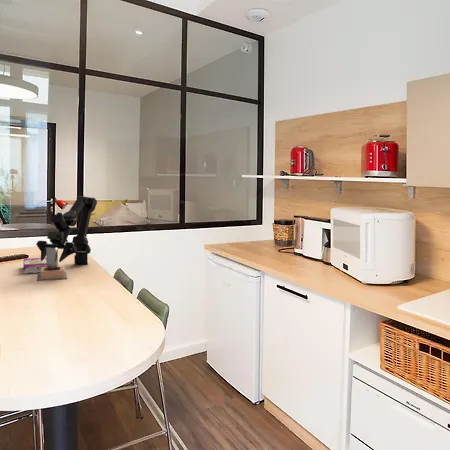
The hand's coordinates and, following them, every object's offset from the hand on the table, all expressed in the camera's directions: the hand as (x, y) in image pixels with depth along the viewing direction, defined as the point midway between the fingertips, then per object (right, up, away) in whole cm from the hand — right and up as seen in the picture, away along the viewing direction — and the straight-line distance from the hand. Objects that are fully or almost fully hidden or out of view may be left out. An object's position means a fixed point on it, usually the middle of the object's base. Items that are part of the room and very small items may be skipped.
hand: (50, 260), depth 191 cm
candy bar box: (-18, -2, +22) cm, 29 cm away
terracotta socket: (0, -8, +2) cm, 8 cm away
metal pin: (0, -7, +2) cm, 8 cm away
